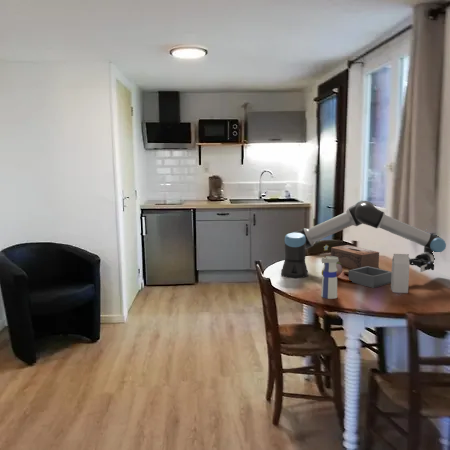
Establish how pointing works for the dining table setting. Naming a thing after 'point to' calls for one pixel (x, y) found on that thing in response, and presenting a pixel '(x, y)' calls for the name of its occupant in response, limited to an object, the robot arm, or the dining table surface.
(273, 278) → the dining table surface
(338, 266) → the decorative fruit
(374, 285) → the bin
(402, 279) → the milk carton
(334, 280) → the water bottle
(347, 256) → the tissue box cover
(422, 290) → the dining table surface
